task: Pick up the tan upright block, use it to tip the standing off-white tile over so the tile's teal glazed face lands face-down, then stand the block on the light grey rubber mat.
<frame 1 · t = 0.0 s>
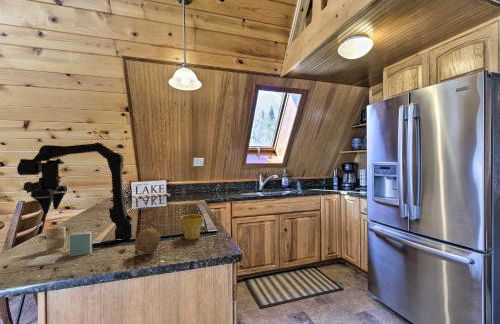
hand: (50, 211, 107), 15 cm above the counter, fingers open, 9 cm apart
tan upright block: (56, 249, 102), on the counter
natural sponge: (147, 254, 97), on the counter
rest mat: (45, 260, 91), on the counter
tile: (80, 253, 98), on the counter
plant pot: (192, 237, 117), on the counter
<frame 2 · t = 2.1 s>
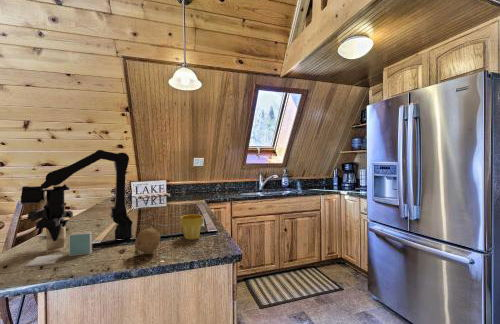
hand: (56, 239, 102), 4 cm above the counter, fingers closed on tan upright block
tan upright block: (56, 249, 102), on the counter, touching gripper
everything else where it was.
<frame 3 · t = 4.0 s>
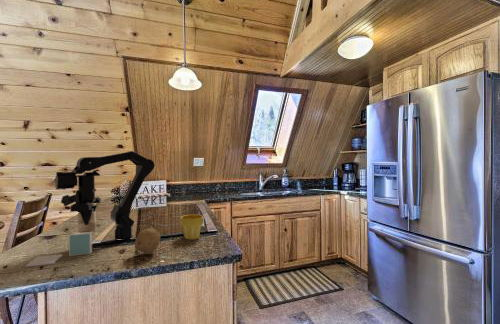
hand: (87, 224, 105), 10 cm above the counter, fingers closed on tan upright block
tan upright block: (87, 233, 105), point 5 cm above the counter, touching gripper
everything else where it was.
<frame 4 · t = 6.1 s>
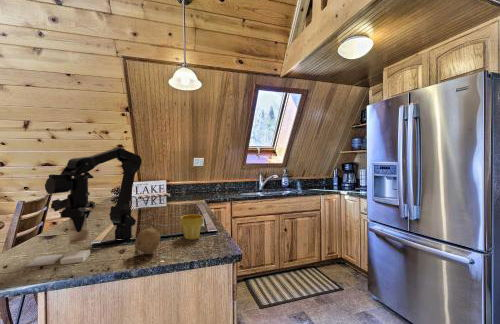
hand: (79, 230, 97), 9 cm above the counter, fingers closed on tan upright block
tan upright block: (79, 242, 97), point 5 cm above the counter, touching gripper
tile: (79, 253, 97), point 1 cm above the counter, tilted 90°
everything else where it was.
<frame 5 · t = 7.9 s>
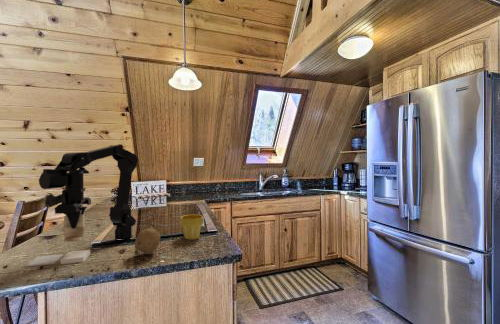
hand: (74, 227, 94), 11 cm above the counter, fingers closed on tan upright block
tan upright block: (74, 239, 94), point 7 cm above the counter, touching gripper
everything else where it was.
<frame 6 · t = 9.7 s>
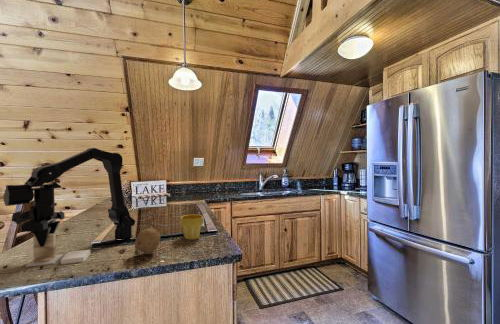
hand: (45, 244, 91), 6 cm above the counter, fingers open, 4 cm apart
tan upright block: (45, 259, 91), point 1 cm above the counter, touching rest mat
everything else where it was.
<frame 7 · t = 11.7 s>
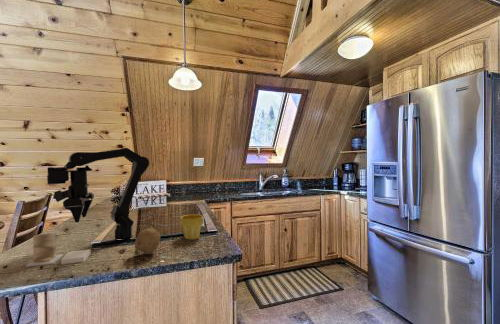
hand: (80, 219, 105), 12 cm above the counter, fingers open, 9 cm apart
nothing on the counter moved.
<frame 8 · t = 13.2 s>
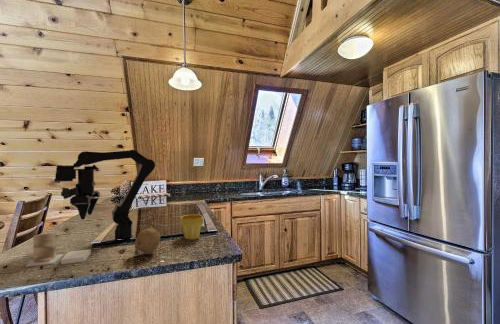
hand: (86, 216, 108), 12 cm above the counter, fingers open, 9 cm apart
nothing on the counter moved.
at the end: tile tilted 90°; tile inside the target area (2.8 cm from its centre), point 0.6 cm above the counter; tan upright block inside the target area on the rest mat (0.1 cm from its centre), point 0.5 cm above the rest mat's base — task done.
